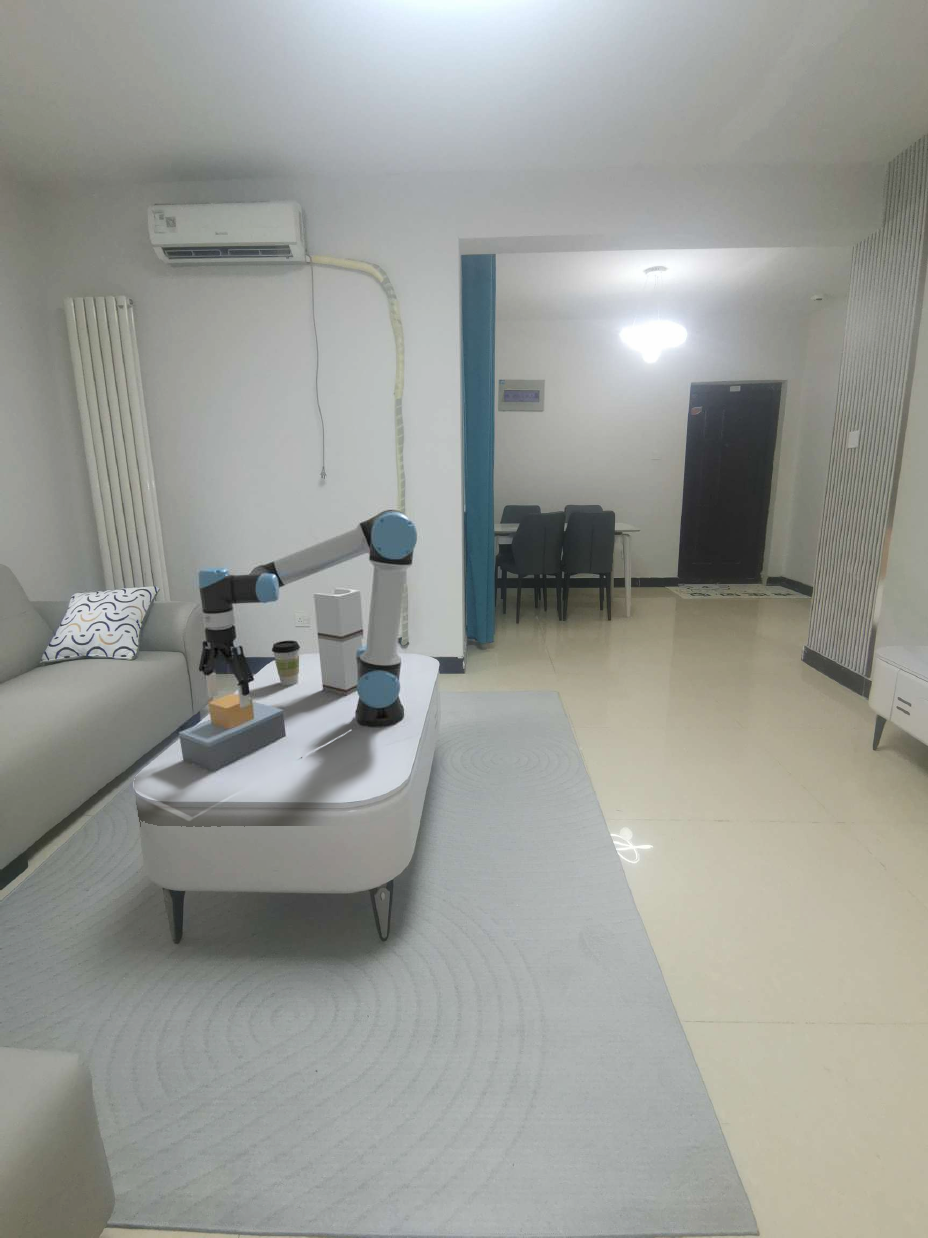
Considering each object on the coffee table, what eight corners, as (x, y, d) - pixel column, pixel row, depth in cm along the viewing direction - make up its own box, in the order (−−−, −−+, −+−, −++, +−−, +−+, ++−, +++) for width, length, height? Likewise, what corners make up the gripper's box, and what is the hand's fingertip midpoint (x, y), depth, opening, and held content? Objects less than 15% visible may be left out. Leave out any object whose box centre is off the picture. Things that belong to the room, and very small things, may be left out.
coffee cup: (278, 689, 210) (273, 649, 207) (273, 681, 219) (269, 642, 215) (306, 684, 215) (302, 645, 211) (300, 676, 223) (296, 638, 220)
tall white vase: (367, 685, 212) (360, 590, 203) (346, 695, 203) (338, 596, 194) (343, 680, 218) (336, 587, 209) (322, 689, 209) (313, 593, 200)
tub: (286, 738, 171) (283, 713, 169) (213, 775, 152) (209, 746, 150) (256, 729, 178) (253, 704, 176) (183, 763, 159) (179, 735, 157)
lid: (283, 716, 170) (280, 690, 168) (210, 750, 150) (205, 721, 148) (254, 707, 176) (251, 682, 174) (180, 739, 157) (175, 711, 155)
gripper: (178, 623, 159) (189, 696, 165) (238, 635, 146) (247, 715, 152) (203, 617, 166) (212, 688, 171) (262, 629, 153) (270, 705, 158)
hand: (229, 701), depth 161 cm, fingers open, 13 cm apart
